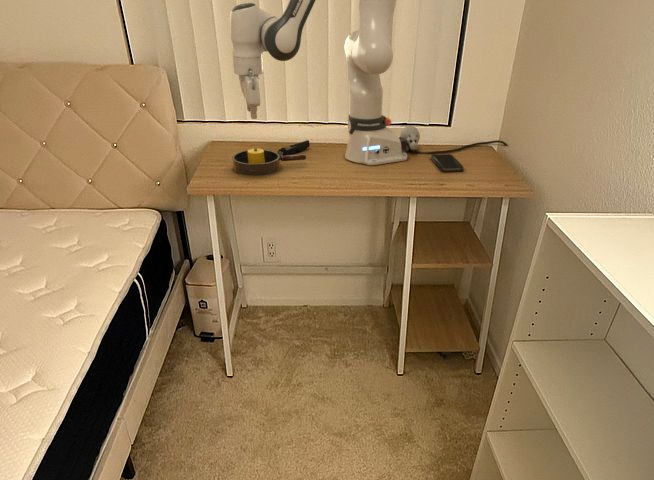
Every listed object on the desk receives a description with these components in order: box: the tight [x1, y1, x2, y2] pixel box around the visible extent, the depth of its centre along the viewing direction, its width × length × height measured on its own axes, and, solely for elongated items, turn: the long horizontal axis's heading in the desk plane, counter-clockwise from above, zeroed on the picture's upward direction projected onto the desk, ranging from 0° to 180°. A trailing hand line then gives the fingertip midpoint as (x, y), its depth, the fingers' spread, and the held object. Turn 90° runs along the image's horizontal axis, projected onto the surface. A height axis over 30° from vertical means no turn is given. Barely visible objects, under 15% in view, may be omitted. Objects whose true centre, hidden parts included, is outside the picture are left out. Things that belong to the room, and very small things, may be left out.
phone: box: [430, 153, 464, 173], centre depth 194 cm, size 8×1×15 cm
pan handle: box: [280, 153, 307, 162], centre depth 189 cm, size 9×2×2 cm, turn 105°
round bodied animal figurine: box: [399, 125, 421, 153], centre depth 203 cm, size 7×12×8 cm, turn 5°
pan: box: [231, 149, 281, 177], centre depth 187 cm, size 16×16×4 cm
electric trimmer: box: [276, 139, 310, 157], centre depth 202 cm, size 4×16×3 cm, turn 142°
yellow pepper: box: [247, 147, 265, 164], centre depth 186 cm, size 5×5×6 cm
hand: (252, 114), depth 178 cm, fingers open, 8 cm apart
